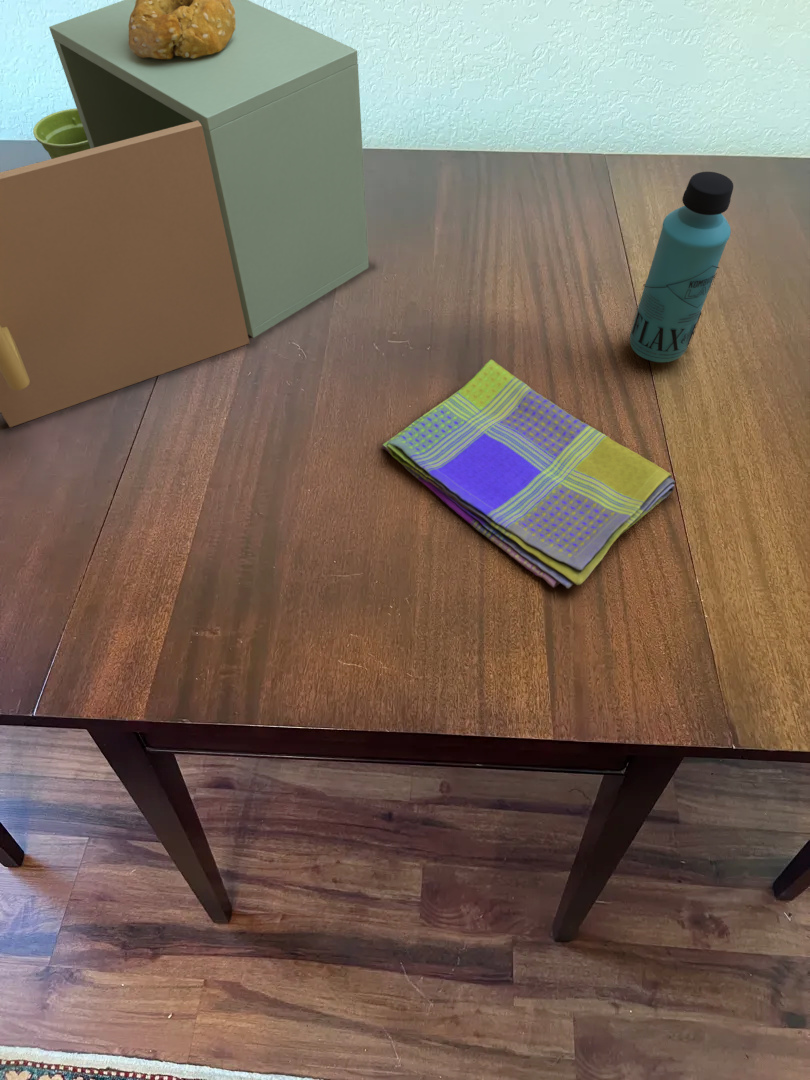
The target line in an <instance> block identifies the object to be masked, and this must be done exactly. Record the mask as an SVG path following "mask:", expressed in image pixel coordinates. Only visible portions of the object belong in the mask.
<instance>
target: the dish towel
mask: <svg viewBox="0 0 810 1080" xmlns="http://www.w3.org/2000/svg"><path fill="white" fill-rule="evenodd" d="M381 448H382V449H383V450H385V451H387V453H388V454H390V456H391V457H392V458H394V459H395V460H396V461H397V462H398V463H399V464H401V465H402V467H404V468H405V470H407V471H408V472H409V473H410V474H411V475H412V476H414V477H415V478H416V479H417V480H418V481H419V482H421V483H422V484H423V485H424V486H426V487H427V488H428V489H429V490H430V491H431V492H433V493H434V494H435V496H437V497H438V498H439V499H440V500H441V501H442V502H443V503H444V504H446V505H447V506H448V507H449V508H450V509H451V510H452V511H454V512H455V513H456V514H457V515H458V516H460V517H461V518H462V519H463V520H464V521H466V522H467V523H468V524H469V525H471V527H473V529H475V530H476V531H478V532H479V533H480V534H482V535H483V536H484V537H486V538H487V539H488V540H489V541H491V542H492V543H493V544H495V545H496V546H497V547H498V548H500V549H501V550H503V552H505V553H506V554H508V556H510V557H511V558H512V559H514V560H515V561H516V562H517V563H518V564H520V565H521V566H523V567H524V568H525V569H526V570H528V571H529V572H532V573H533V575H534V576H536V577H539V578H542V579H543V580H544V581H545V582H546V583H547V584H548V585H549V586H550V587H552V588H553V589H554V588H556V587H557V586H559V584H561V585H563V586H564V587H565V588H566V589H570V588H571V587H572V586H574V585H576V586H578V587H579V586H581V585H582V584H583V583H584V582H585V581H586V580H587V579H588V578H589V576H590V575H591V573H592V572H593V571H594V570H595V569H596V567H597V566H598V565H599V564H600V563H601V561H602V560H603V558H604V557H605V556H606V555H607V553H608V551H609V550H610V548H611V547H612V546H613V544H615V542H616V541H617V539H618V538H620V536H621V535H623V534H624V533H625V532H626V531H628V530H629V529H630V528H631V527H633V526H634V525H635V524H636V523H637V522H639V521H640V520H641V519H642V518H643V517H645V515H647V514H648V513H650V512H651V511H652V510H653V509H654V508H656V507H657V506H659V504H660V503H661V502H663V501H664V500H665V499H667V498H668V497H669V496H670V494H672V493H673V492H674V490H675V484H676V481H675V480H674V479H673V478H672V476H673V475H672V473H670V472H669V471H667V470H665V469H664V468H662V467H660V466H658V465H657V464H656V463H655V462H652V461H651V460H649V459H648V458H645V457H643V456H641V455H640V454H639V453H637V452H635V451H633V450H632V449H630V448H628V447H626V446H624V445H622V444H620V443H618V442H617V441H615V440H613V439H612V438H610V436H607V435H606V434H605V433H603V432H601V431H600V430H597V429H596V428H594V427H592V426H590V425H589V424H588V423H586V422H584V421H582V420H580V419H579V418H577V417H575V416H573V415H572V414H571V413H570V412H569V411H566V410H565V409H563V408H562V407H560V406H559V405H557V404H556V403H554V402H553V401H551V400H550V399H548V398H546V397H545V396H543V395H542V394H540V393H538V392H537V391H536V390H534V389H533V388H531V387H530V386H529V385H528V384H527V383H525V382H524V381H523V380H521V379H519V378H518V377H516V376H515V375H514V374H512V373H511V372H510V371H508V370H506V369H505V368H504V367H503V366H501V365H500V364H498V363H497V362H496V361H495V360H493V359H489V360H488V362H486V363H485V364H484V365H483V367H482V368H481V369H480V370H479V371H478V372H477V373H476V374H475V375H474V376H473V377H471V379H470V380H469V381H468V382H467V383H466V384H465V385H464V386H463V387H462V388H460V389H459V390H457V391H456V392H454V393H453V394H452V395H450V396H449V397H448V398H446V399H444V400H443V401H442V402H440V403H439V404H437V405H436V406H435V407H433V408H432V409H430V410H428V411H427V412H425V413H424V414H423V415H422V416H420V417H419V418H417V419H416V420H414V421H413V422H412V423H410V424H409V425H408V426H406V427H405V428H404V429H402V430H401V431H399V432H398V433H396V434H395V435H394V436H392V437H390V438H389V439H388V440H387V441H386V442H384V443H382V445H381Z"/></svg>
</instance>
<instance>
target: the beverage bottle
mask: <svg viewBox="0 0 810 1080" xmlns="http://www.w3.org/2000/svg"><path fill="white" fill-rule="evenodd" d="M733 191H734V182H733V181H732V179H730V178H729V177H728V176H726V175H724V174H722V173H719V172H715V171H700V172H696V173H695V174H693V175H692V176H691V177H690V179H689V181H688V183H687V186H686V188H685V190H684V192H683V194H682V195H683V196H682V198H681V199H682V201H681V202H682V204H683V205H684V206H681V207H678V208H676V209H674V210H672V211H670V212H669V213H668V214H667V215H666V216H664V219H663V221H662V226H661V227H662V228H661V231H660V234H659V237H658V241H657V244H656V248H655V251H654V255H653V258H652V262H651V265H650V268H649V272H648V275H647V278H646V280H645V283H643V284H642V290H641V293H640V294H639V295H640V298H638V303H637V307H636V310H635V311H636V312H635V313H634V317H633V318H632V323H631V328H630V329H629V332H628V333H629V337H628V338H629V345H630V347H631V349H632V350H633V351H634V353H635V354H637V355H638V356H639V357H641V358H642V359H645V360H647V361H650V362H654V363H670V362H673V361H676V360H679V359H680V358H681V357H683V355H684V354H685V353H686V352H687V351H688V349H689V348H690V345H691V342H692V341H693V338H694V335H695V333H696V329H697V327H698V325H699V322H700V320H701V319H700V318H701V316H702V311H703V307H704V304H705V303H706V302H705V301H706V299H707V298H708V295H709V293H710V292H711V289H712V288H713V284H714V281H715V278H716V276H717V274H718V272H717V270H718V269H720V267H719V264H720V261H721V258H722V255H723V253H724V250H725V248H726V245H727V242H728V241H729V240H730V237H731V232H732V231H731V229H732V228H731V226H730V223H729V221H728V220H727V219H726V217H725V216H724V214H723V213H725V212H726V211H727V210H728V209H729V206H730V204H731V201H732V200H731V198H732V196H733V195H732V194H733Z"/></svg>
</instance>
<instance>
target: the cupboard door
mask: <svg viewBox="0 0 810 1080" xmlns="http://www.w3.org/2000/svg"><path fill="white" fill-rule="evenodd" d="M249 344H250V339H249V334H247V329H246V325H245V320H244V316H243V311H242V307H241V302H240V297H239V293H238V288H237V284H236V279H235V275H234V270H233V265H232V261H231V256H230V252H229V247H228V243H227V238H226V233H225V229H224V224H223V220H222V215H221V211H220V206H219V201H218V197H217V192H216V188H215V183H214V179H213V174H212V170H211V165H210V160H209V156H208V151H207V147H206V142H205V138H204V133H203V128H202V125H201V124H200V122H199V121H194V122H190V123H186V124H183V125H179V126H175V127H171V128H167V129H164V130H160V131H156V132H152V133H148V134H145V135H141V136H137V137H133V138H129V139H126V140H122V141H118V142H114V143H110V144H107V145H103V146H99V147H95V148H91V149H88V150H84V151H80V152H76V153H73V154H69V155H65V156H61V157H57V158H54V159H51V158H49V159H46V160H43V161H39V162H35V163H31V164H27V165H23V166H20V167H16V168H13V169H9V170H5V171H0V414H1V415H2V418H3V420H4V421H5V422H6V424H7V425H8V428H14V427H16V426H19V425H21V424H24V423H27V422H30V421H33V420H36V419H38V418H41V417H44V416H47V415H50V414H52V413H55V412H59V411H62V410H65V409H67V408H70V407H73V406H76V405H78V404H81V403H84V402H86V401H90V400H92V399H96V398H98V397H101V396H104V395H106V394H109V393H113V392H115V391H118V390H121V389H124V388H127V387H129V386H132V385H135V384H138V383H141V382H143V381H146V380H150V379H153V378H155V377H158V376H162V375H164V374H167V373H169V372H172V371H176V370H178V369H181V368H184V367H186V366H189V365H192V364H195V363H198V362H201V361H204V360H206V359H209V358H212V357H215V356H218V355H221V354H223V353H226V352H229V351H232V350H235V349H238V348H241V347H242V346H246V345H249Z"/></svg>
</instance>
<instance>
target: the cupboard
mask: <svg viewBox="0 0 810 1080" xmlns="http://www.w3.org/2000/svg"><path fill="white" fill-rule="evenodd" d="M230 1H231V4H232V5H233V7H234V9H235V22H236V24H235V26H236V28H235V30H234V32H233V35H232V38H231V39H230V40H229V42H228V43H227V44H226V46H225V48H223V49H222V50H221V51H220V52H216V53H214V54H209V55H204V56H200V57H198V58H189V57H188V58H183V57H182V56H181V57H180V56H175V55H174V57H173V58H172V59H154V58H151V57H149V58H140V57H139V56H137V55H135V54H134V53H133V52H132V51H131V49H130V47H129V27H128V25H129V20H130V15H131V13H132V12H133V10H134V7H135V2H136V0H120V1H117V2H115V3H112V4H109V5H105V6H104V7H100V8H97V9H95V10H92V11H89V12H87V13H84V14H81V15H78V16H76V17H72V18H70V19H66V20H64V21H61V22H58V23H56V24H53V25H50V26H49V27H48V29H49V31H50V34H51V37H52V39H53V43H54V46H55V48H56V52H57V55H58V58H59V60H60V64H61V66H62V70H63V72H64V75H65V78H66V81H67V84H68V87H69V90H70V93H71V95H72V98H73V101H74V104H75V107H76V108H77V110H78V113H79V116H80V119H81V122H82V125H83V128H84V131H85V134H86V136H87V139H88V142H89V145H90V148H95V147H99V146H103V145H107V144H110V143H114V142H118V141H122V140H126V139H129V138H133V137H137V136H141V135H145V134H148V133H152V132H156V131H160V130H164V129H167V128H171V127H175V126H179V125H183V124H186V123H190V122H194V121H199V122H200V124H201V125H202V128H203V133H204V138H205V142H206V147H207V151H208V156H209V160H210V165H211V170H212V174H213V179H214V183H215V188H216V192H217V197H218V201H219V206H220V211H221V215H222V220H223V224H224V229H225V233H226V238H227V243H228V247H229V252H230V256H231V261H232V265H233V270H234V275H235V279H236V284H237V288H238V293H239V297H240V302H241V307H242V311H243V316H244V320H245V325H246V329H247V334H248V336H250V337H251V338H253V339H254V338H256V337H258V336H260V335H261V334H263V333H264V332H265V331H267V330H269V329H271V328H272V327H275V325H277V324H278V323H281V322H282V321H284V320H285V319H287V318H289V317H290V316H292V315H294V314H295V313H297V312H299V311H300V310H302V309H303V308H305V307H307V306H308V305H310V304H311V303H313V302H315V301H317V300H318V299H320V298H322V297H323V296H325V295H326V294H328V293H329V292H331V291H333V290H335V289H336V288H339V286H342V285H344V283H346V282H348V281H350V280H352V278H354V277H356V276H357V275H359V274H361V273H362V272H364V271H366V270H368V269H369V267H370V264H369V246H368V245H369V244H368V226H367V208H366V189H365V188H366V187H365V170H364V155H363V154H364V150H363V132H362V114H361V113H362V112H361V97H360V77H359V76H360V75H359V61H358V60H359V59H358V50H357V49H355V48H354V47H351V46H349V45H347V44H344V43H342V42H340V41H338V40H336V39H334V38H332V37H330V36H328V35H326V34H323V33H321V32H319V31H316V30H315V29H312V28H310V27H307V26H306V25H303V24H302V23H299V22H296V21H294V20H292V19H291V18H288V17H286V16H284V15H282V14H279V13H277V12H274V11H273V10H271V9H268V8H266V7H264V6H262V5H259V4H257V3H256V2H253V1H251V0H230Z"/></svg>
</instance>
